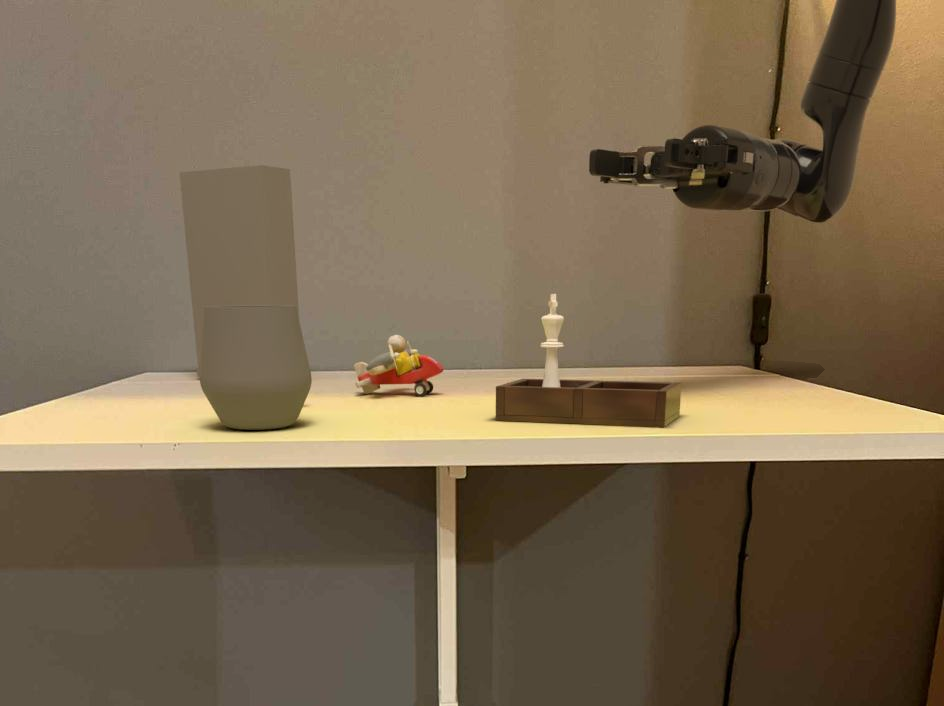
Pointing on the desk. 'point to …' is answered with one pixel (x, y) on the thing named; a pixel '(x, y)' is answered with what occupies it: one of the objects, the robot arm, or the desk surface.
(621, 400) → the divided tray
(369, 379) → the toy airplane
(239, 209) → the khaki block
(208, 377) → the cup
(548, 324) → the chess piece
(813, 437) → the desk surface
